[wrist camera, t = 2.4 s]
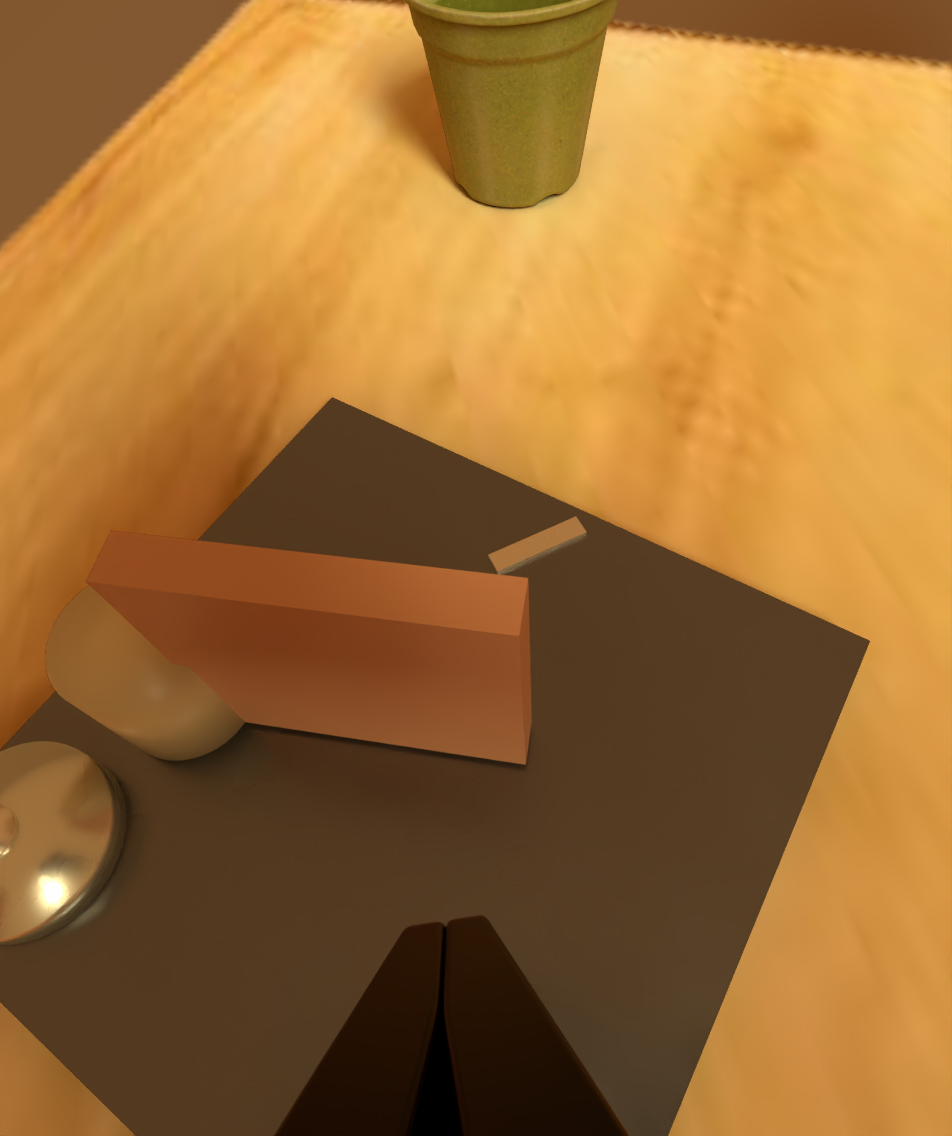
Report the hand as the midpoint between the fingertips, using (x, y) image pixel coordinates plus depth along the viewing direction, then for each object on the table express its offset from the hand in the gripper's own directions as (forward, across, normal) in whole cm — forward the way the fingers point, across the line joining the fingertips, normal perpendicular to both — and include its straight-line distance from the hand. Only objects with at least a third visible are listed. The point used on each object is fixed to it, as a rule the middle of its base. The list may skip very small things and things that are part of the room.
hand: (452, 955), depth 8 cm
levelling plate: (+13, +2, +5) cm, 14 cm away
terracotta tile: (+13, +4, +3) cm, 14 cm away
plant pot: (+33, -6, -15) cm, 37 cm away
